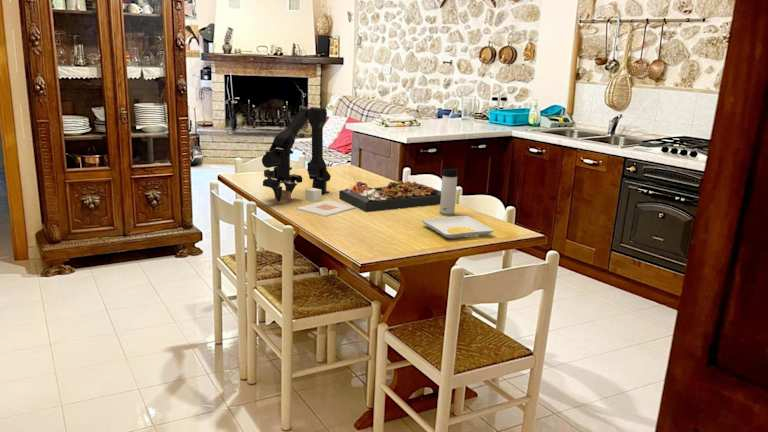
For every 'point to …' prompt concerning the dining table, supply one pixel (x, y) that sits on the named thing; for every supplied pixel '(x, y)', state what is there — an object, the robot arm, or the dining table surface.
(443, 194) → the travel mug
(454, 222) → the salad plate
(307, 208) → the blueprint board
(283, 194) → the walnut cube
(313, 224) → the dining table surface
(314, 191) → the offwhite cube
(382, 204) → the food platter
